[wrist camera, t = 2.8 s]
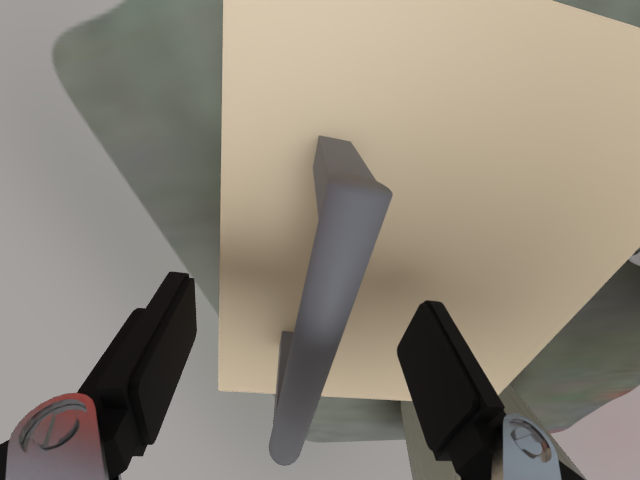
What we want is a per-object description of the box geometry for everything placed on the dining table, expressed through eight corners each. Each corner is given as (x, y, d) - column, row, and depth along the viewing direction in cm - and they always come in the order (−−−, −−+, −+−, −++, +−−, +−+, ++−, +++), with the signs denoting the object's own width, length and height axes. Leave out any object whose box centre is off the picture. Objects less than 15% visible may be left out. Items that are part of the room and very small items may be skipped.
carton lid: (769, 77, 11) (1272, 89, 5) (483, 394, 22) (544, 505, 16) (231, -87, 8) (45, -494, 2) (221, 378, 19) (188, 508, 13)
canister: (355, 376, 37) (405, 663, 19) (487, 316, 32) (717, 627, 14) (413, 425, 45) (486, 657, 28) (525, 383, 40) (701, 633, 23)
